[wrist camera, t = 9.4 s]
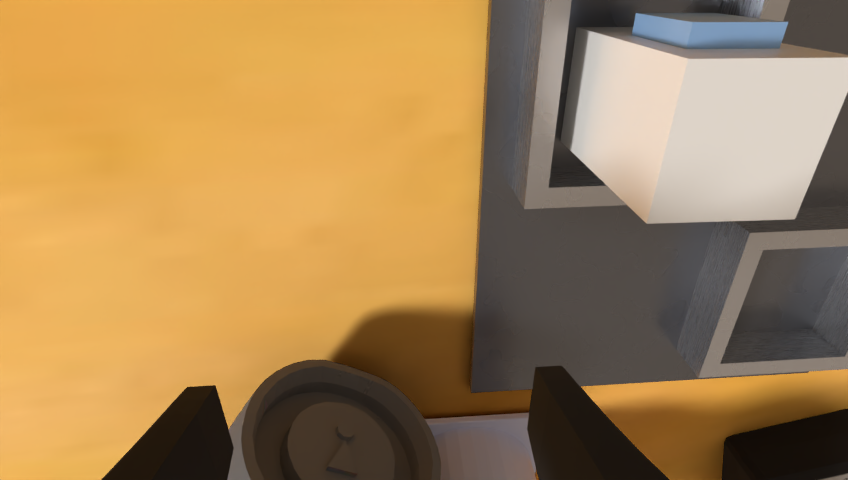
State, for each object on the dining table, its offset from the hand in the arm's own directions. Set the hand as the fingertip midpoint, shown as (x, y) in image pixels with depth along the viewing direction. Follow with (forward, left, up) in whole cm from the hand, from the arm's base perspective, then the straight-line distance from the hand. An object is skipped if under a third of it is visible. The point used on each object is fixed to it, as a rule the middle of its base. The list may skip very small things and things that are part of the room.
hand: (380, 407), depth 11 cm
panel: (0, -13, -10) cm, 17 cm away
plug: (+5, -9, -10) cm, 14 cm away
